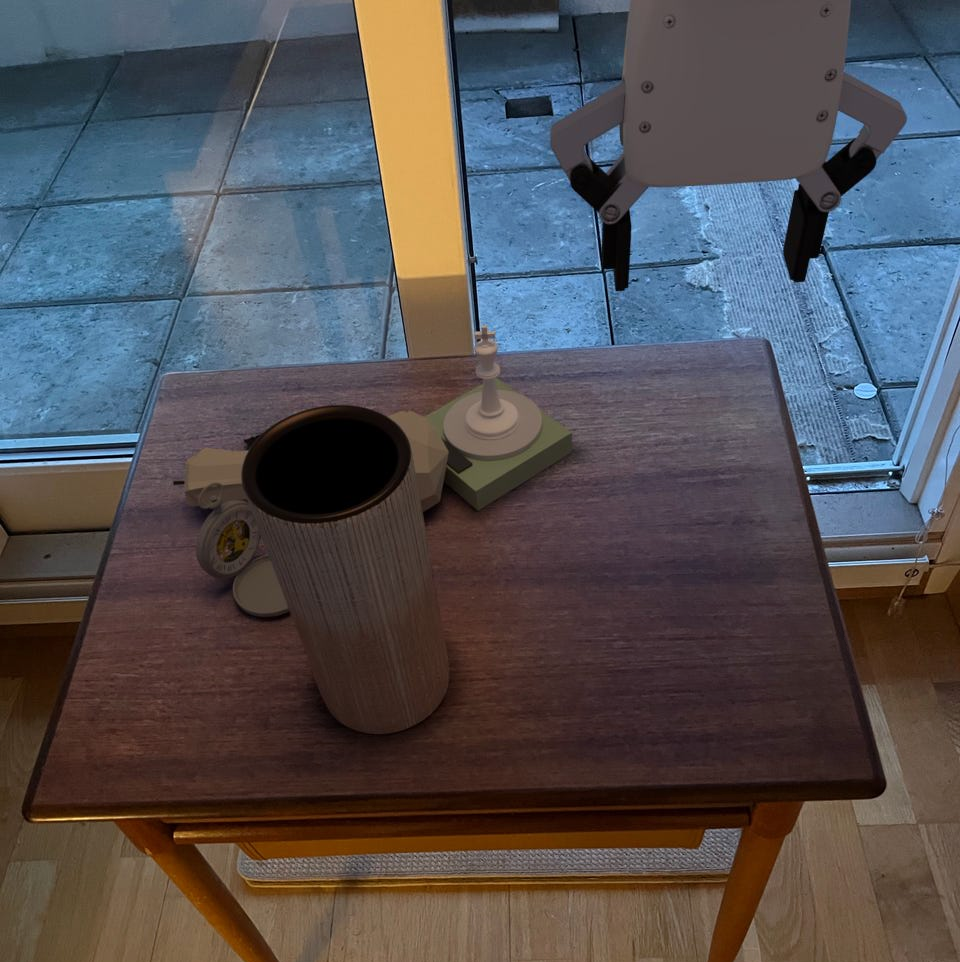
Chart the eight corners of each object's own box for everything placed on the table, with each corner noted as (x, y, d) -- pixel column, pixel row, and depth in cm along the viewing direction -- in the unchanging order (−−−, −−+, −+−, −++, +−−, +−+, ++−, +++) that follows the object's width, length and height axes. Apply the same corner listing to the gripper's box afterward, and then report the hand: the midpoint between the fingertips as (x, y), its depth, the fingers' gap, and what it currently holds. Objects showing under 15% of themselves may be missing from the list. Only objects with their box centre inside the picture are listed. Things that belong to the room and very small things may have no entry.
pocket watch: (309, 619, 77) (278, 534, 69) (208, 623, 78) (166, 539, 70) (320, 545, 82) (293, 458, 74) (225, 549, 83) (188, 463, 75)
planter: (316, 740, 70) (228, 527, 52) (326, 633, 76) (250, 408, 58) (451, 732, 70) (409, 514, 52) (450, 625, 76) (412, 396, 58)
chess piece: (466, 405, 87) (455, 309, 79) (519, 403, 87) (514, 307, 79) (463, 441, 84) (452, 346, 76) (519, 439, 84) (513, 343, 76)
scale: (496, 396, 92) (494, 371, 90) (572, 452, 87) (572, 427, 84) (405, 449, 89) (400, 424, 86) (477, 511, 83) (475, 486, 81)
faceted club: (452, 529, 81) (172, 548, 83) (459, 482, 87) (200, 501, 90) (438, 434, 75) (139, 457, 78) (447, 391, 82) (171, 414, 85)
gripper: (941, -142, 41) (849, 228, 55) (545, -109, 43) (551, 245, 56) (992, -83, 37) (878, 304, 51) (547, -48, 38) (553, 320, 52)
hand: (705, 273), depth 53 cm, fingers open, 9 cm apart
